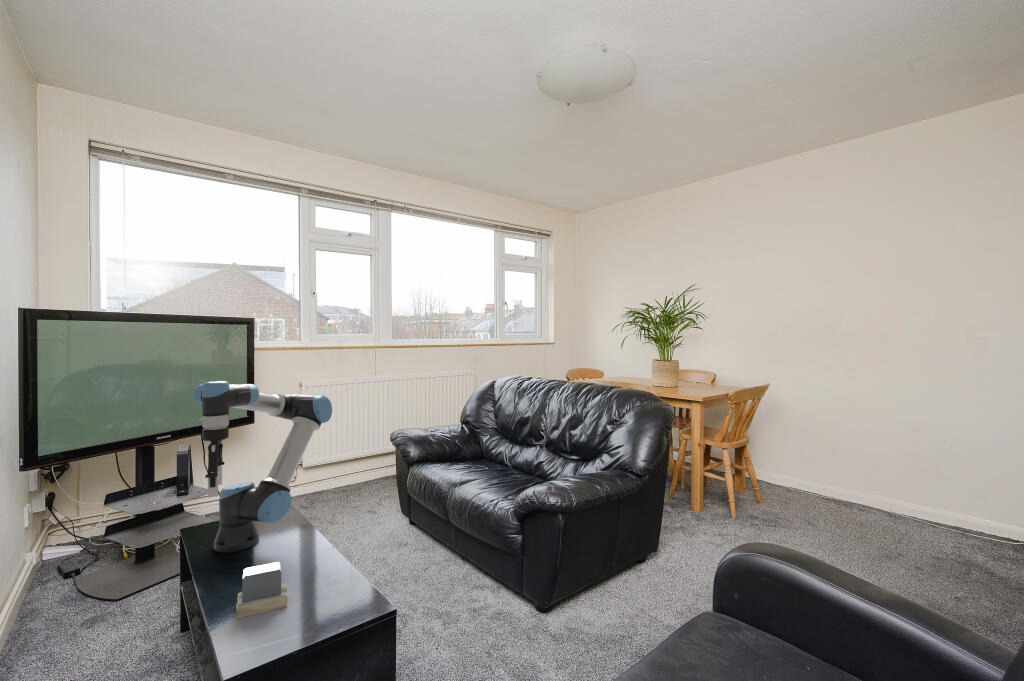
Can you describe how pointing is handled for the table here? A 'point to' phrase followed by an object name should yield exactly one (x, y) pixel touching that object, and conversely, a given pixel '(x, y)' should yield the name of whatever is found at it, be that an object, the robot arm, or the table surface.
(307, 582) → the table surface
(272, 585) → the housing
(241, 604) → the stand
